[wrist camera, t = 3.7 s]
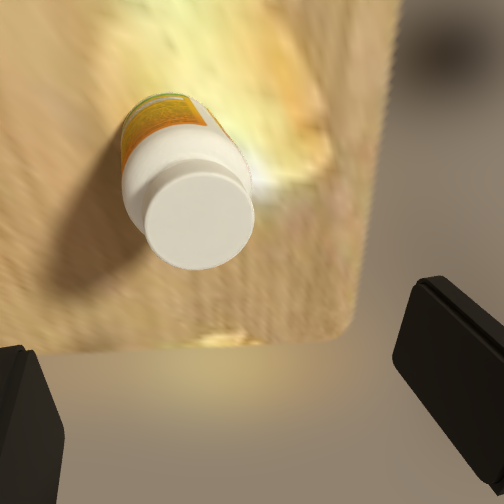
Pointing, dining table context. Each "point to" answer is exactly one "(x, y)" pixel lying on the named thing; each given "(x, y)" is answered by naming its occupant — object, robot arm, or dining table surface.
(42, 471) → the robot arm
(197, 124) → the supplement bottle
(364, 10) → the dining table surface
